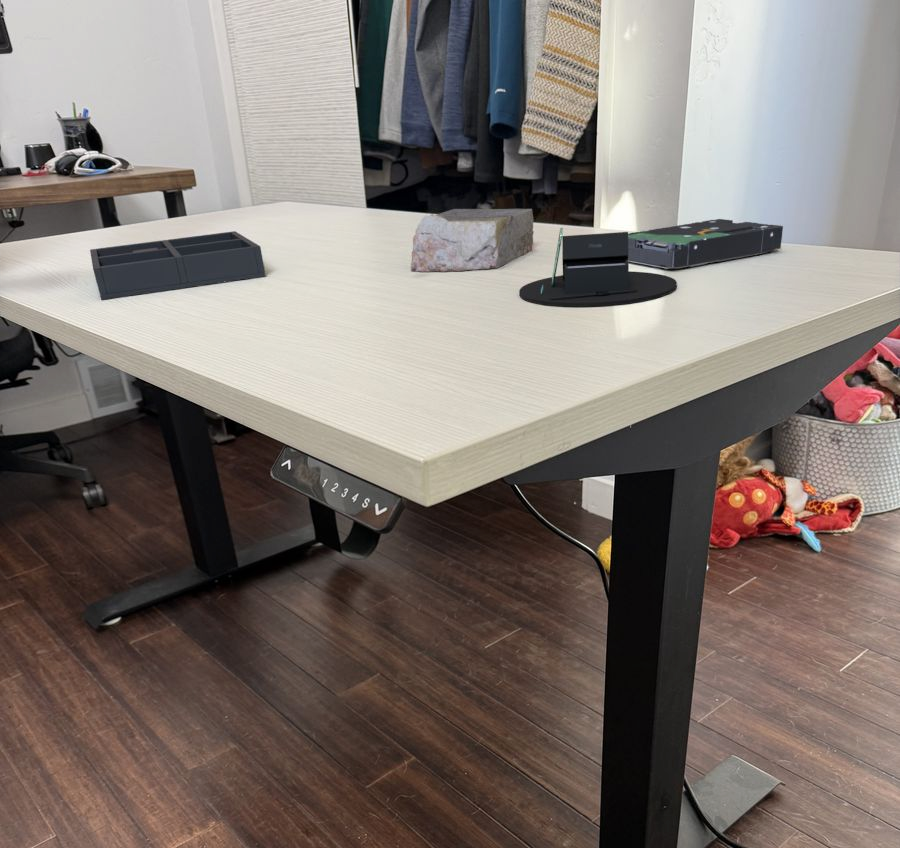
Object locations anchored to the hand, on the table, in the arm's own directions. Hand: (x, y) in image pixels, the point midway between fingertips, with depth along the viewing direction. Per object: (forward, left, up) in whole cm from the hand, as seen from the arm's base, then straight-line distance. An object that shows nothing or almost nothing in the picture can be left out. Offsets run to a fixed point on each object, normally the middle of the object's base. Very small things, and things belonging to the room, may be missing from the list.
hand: (1, 51), depth 103 cm
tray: (+14, -10, -26) cm, 31 cm away
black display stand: (+49, -56, -26) cm, 79 cm away
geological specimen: (+47, -30, -26) cm, 62 cm away
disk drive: (+66, -48, -26) cm, 86 cm away
